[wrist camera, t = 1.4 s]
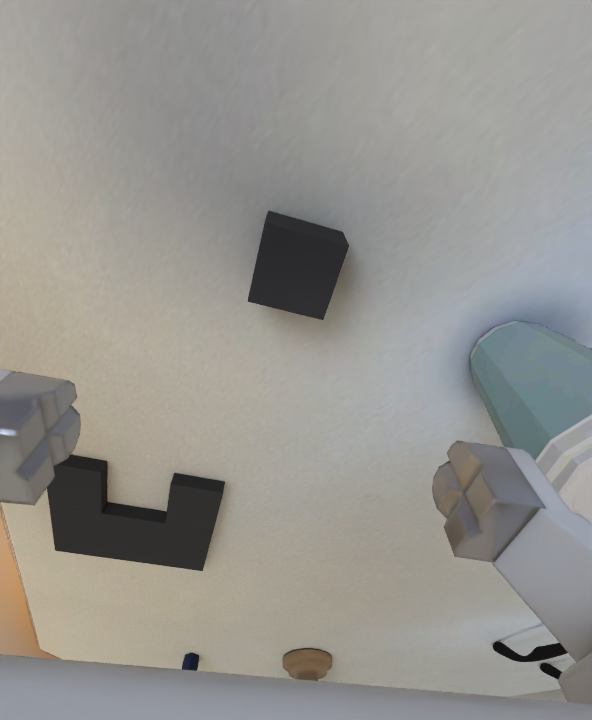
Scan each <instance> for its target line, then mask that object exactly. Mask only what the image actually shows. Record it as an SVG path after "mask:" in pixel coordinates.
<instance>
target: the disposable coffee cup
mask: <svg viewBox="0 0 592 720" xmlns="http://www.w3.org/2000/svg"><path fill="white" fill-rule="evenodd" d="M470 360H471V361H470V364H471V372H472V378H473V380H474V382H475V385H476V387H477V389H478V391H479V393H480V395H481V398H482V400H483V402H484V404H485V406H486V408H487V411H488V413H489V415H490V417H491V419H492V421H493V423H494V426H495V428H496V430H497V432H498V434H499V436H500V439H501V441H502V443H503V445H504V447H509V448H516V449H523V450H524V451H526V452H527V453H529V454H530V455H531V456H532V458H533V459H534V461H535V462H536V463H537V465H538V466H539V467H540V469H541V470H542V472H543V473H544V474H545V476H546V477H547V479H548V480H549V481H550V483H551V484H552V485H553V487H554V488H555V490H556V491H557V492H558V494H559V495H560V497H561V498H562V499H563V501H564V502H565V503H566V505H567V506H568V508H569V509H570V510H571V512H572V513H579V514H580V515H582V516H583V517H584V518H586V519H587V520H588V521H590V522H591V523H592V349H590V348H588V347H586V346H583V345H581V344H579V343H577V342H575V341H573V340H571V339H569V338H567V337H565V336H563V335H561V334H559V333H557V332H555V331H552V330H550V329H548V328H546V327H544V326H542V325H539V324H533V323H527V322H519V321H512V322H509V323H506V324H502V325H499V326H496V327H494V328H492V329H491V330H490V331H489V332H488V333H486V334H485V335H484V336H483V337H481V338H480V339H479V340H478V341H477V343H476V345H475V347H474V349H473V351H472V353H471V355H470Z"/></svg>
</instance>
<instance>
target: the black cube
mask: <svg viewBox="0 0 592 720" xmlns="http://www.w3.org/2000/svg"><path fill="white" fill-rule="evenodd" d="M348 247H349V244H348V242H347V240H346V238H345V236H344V233H343V232H341V231H337V230H334V229H330V228H327V227H323V226H320V225H316V224H313V223H310V222H306V221H303V220H299V219H296V218H292V217H289V216H285V215H282V214H278V213H275V212H271V211H268V214H267V217H266V221H265V224H264V229H263V233H262V238H261V243H260V247H259V252H258V256H257V261H256V265H255V270H254V274H253V279H252V284H251V288H250V293H249V297H248V302H252V303H256V304H260V305H264V306H268V307H272V308H276V309H281V310H285V311H289V312H293V313H297V314H301V315H305V316H309V317H313V318H317V319H321V320H323V319H324V316H325V313H326V311H327V308H328V305H329V302H330V299H331V296H332V293H333V290H334V288H335V285H336V282H337V279H338V276H339V273H340V270H341V267H342V264H343V262H344V259H345V256H346V253H347V250H348Z"/></svg>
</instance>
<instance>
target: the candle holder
mask: <svg viewBox="0 0 592 720" xmlns="http://www.w3.org/2000/svg"><path fill="white" fill-rule="evenodd" d="M331 667H332V658H331V656H330V655H329V654H328V653H326V652H323V651H320V650H314V649H302V650H296V651H293V652H290V653H288V654H286V655H285V656H284V658H283V668H284V669H285V670H286V671H288V673H289V675H290V676H291V677H292V678H294V679H299V680H311V681H318V679H321V678H323V677H324V676H325V675H326V674H327V671H328V670H329V669H330V668H331Z"/></svg>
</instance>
